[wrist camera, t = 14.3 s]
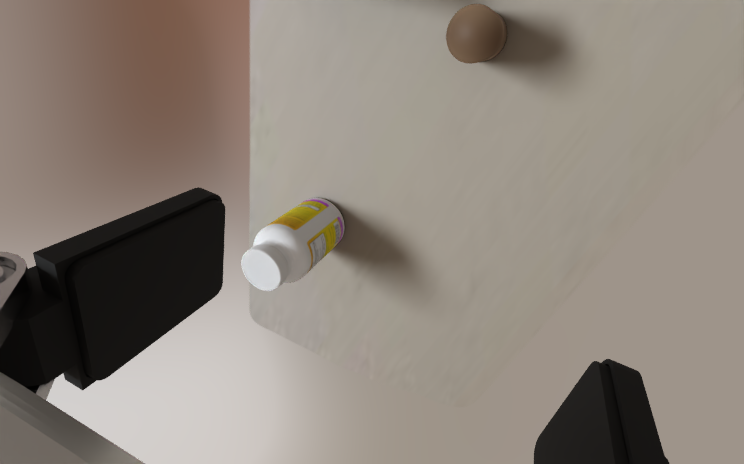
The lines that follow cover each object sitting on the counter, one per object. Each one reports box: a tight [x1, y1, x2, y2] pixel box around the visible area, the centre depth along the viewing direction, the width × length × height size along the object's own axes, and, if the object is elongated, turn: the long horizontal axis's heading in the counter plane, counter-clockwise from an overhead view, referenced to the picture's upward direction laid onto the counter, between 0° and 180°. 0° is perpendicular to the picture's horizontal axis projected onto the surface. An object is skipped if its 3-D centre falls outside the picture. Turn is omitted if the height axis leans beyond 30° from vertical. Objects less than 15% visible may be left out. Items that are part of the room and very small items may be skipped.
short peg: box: [446, 4, 507, 63], centre depth 32 cm, size 4×4×6 cm
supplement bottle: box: [241, 198, 345, 291], centre depth 44 cm, size 7×7×13 cm
